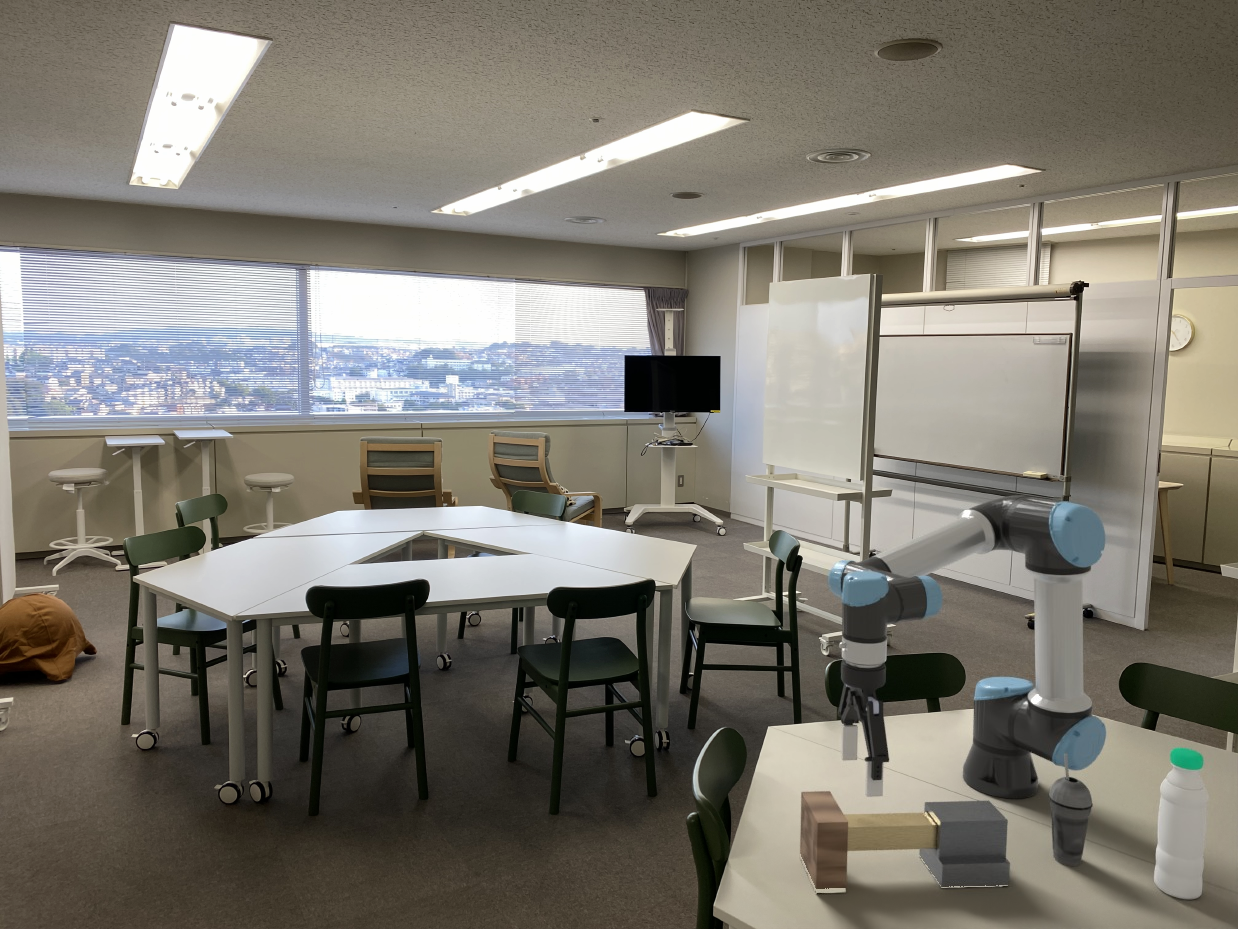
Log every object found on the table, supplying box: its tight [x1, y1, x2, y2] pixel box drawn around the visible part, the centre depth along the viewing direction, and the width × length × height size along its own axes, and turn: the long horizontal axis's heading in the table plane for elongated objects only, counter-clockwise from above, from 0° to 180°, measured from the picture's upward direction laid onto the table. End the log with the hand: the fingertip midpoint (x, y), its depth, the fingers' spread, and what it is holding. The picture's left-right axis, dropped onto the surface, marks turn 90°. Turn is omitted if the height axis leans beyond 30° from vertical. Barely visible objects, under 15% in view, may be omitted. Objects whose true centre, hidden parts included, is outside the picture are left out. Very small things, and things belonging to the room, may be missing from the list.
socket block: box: [799, 790, 848, 889], centre depth 155 cm, size 11×5×13 cm, turn 3°
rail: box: [843, 812, 938, 852], centre depth 155 cm, size 4×22×4 cm, turn 93°
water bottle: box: [1153, 747, 1210, 900], centre depth 150 cm, size 7×7×25 cm
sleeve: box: [918, 800, 1011, 888], centre depth 156 cm, size 10×12×12 cm
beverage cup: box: [1048, 754, 1094, 867], centre depth 159 cm, size 7×7×20 cm
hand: (861, 777), depth 154 cm, fingers open, 13 cm apart
